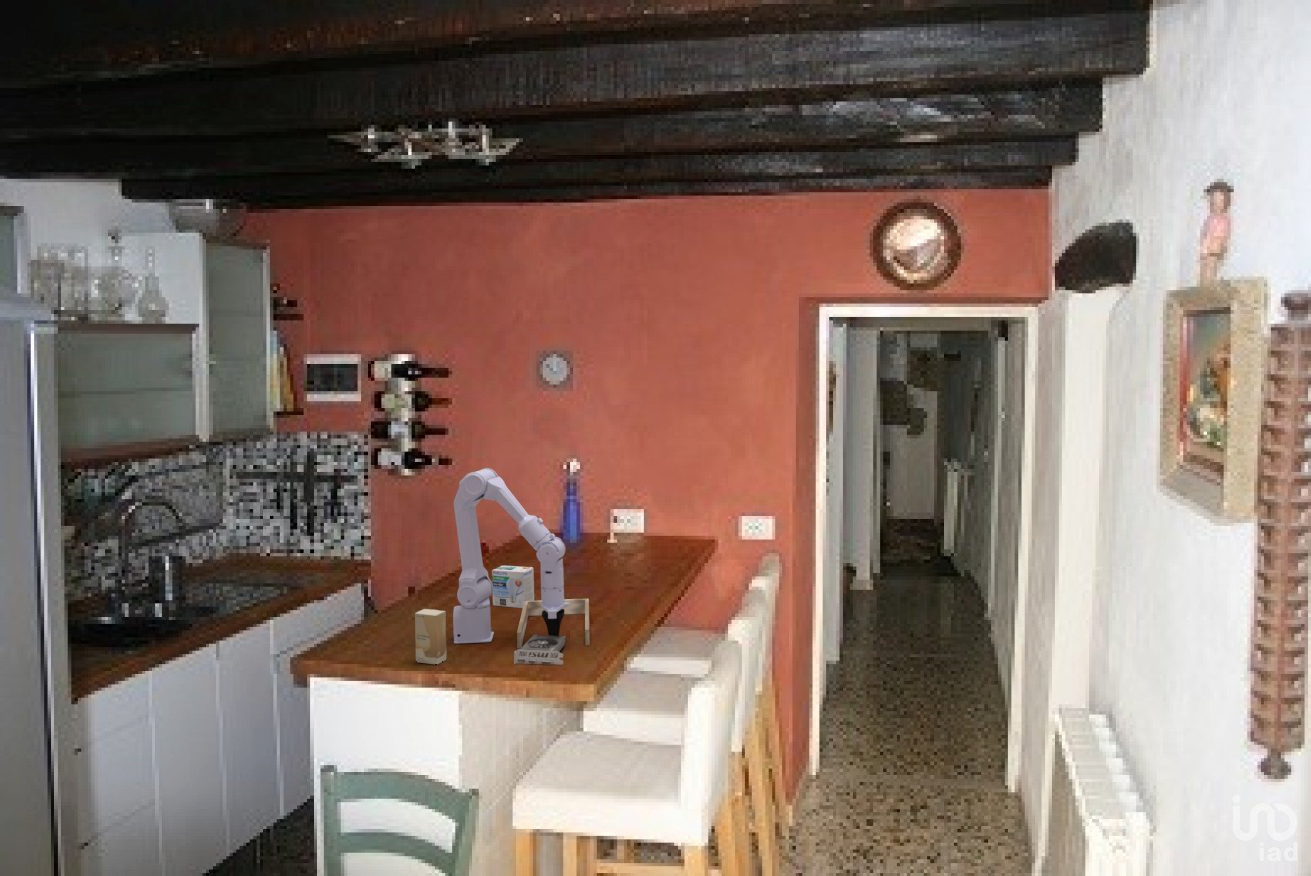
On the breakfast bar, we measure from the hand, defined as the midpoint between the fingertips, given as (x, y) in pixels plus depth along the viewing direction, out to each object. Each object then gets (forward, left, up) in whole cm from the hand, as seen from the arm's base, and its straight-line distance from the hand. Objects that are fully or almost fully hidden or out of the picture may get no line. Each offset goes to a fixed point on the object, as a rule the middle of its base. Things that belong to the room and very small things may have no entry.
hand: (554, 639), depth 249 cm
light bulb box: (-13, +40, -1) cm, 42 cm away
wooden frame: (0, +12, -1) cm, 12 cm away
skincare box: (-29, -11, -1) cm, 31 cm away
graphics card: (-2, -9, -2) cm, 10 cm away
